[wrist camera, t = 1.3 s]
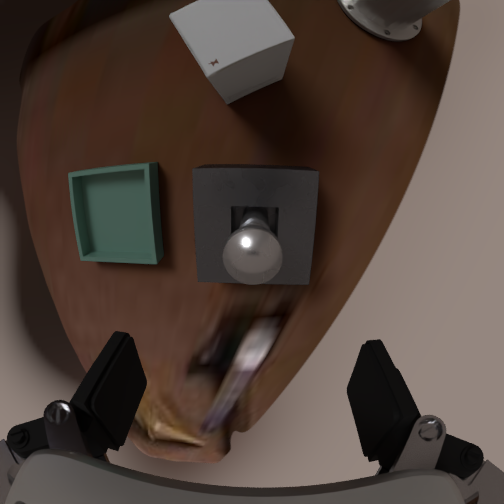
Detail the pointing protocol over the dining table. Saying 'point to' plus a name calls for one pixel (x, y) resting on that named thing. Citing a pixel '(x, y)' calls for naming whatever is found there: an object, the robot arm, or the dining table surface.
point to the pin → (253, 249)
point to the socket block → (255, 195)
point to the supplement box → (236, 43)
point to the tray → (117, 213)
